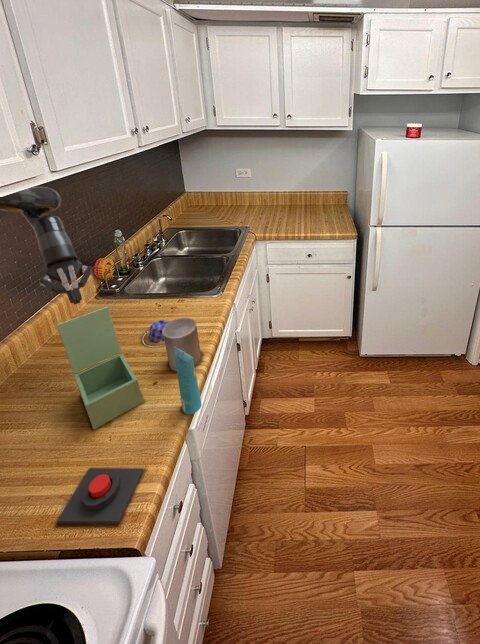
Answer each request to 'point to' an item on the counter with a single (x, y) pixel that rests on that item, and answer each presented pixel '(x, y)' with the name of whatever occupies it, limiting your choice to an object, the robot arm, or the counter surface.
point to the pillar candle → (182, 340)
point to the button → (100, 486)
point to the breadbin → (108, 390)
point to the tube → (187, 382)
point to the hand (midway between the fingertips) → (77, 302)
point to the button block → (102, 498)
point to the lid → (89, 339)
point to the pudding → (157, 332)
